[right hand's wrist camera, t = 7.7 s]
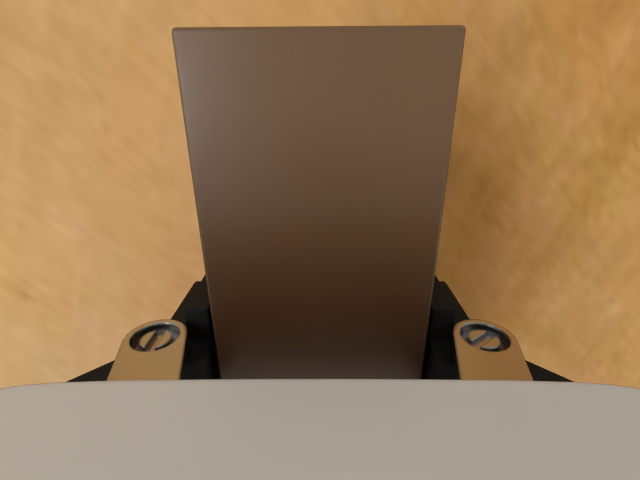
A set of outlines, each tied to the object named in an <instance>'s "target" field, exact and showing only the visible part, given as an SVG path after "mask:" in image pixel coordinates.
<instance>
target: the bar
mask: <svg viewBox="0 0 640 480" xmlns="http://www.w3.org/2000/svg"><path fill="white" fill-rule="evenodd" d="M172 38H173V45H174V52H175V59H176V66H177V73H178V80H179V87H180V95H181V102H182V109H183V116H184V123H185V130H186V137H187V144H188V152H189V159H190V166H191V173H192V180H193V187H194V194H195V201H196V209H197V216H198V223H199V230H200V237H201V244H202V251H203V258H204V266H205V273H206V280H207V287H208V294H209V301H210V308H211V315H212V323H213V330H214V337H215V344H216V351H217V358H218V365H219V372H220V379H418V380H422V372H423V364H424V356H425V348H426V340H427V332H428V324H429V316H430V308H431V300H432V292H433V284H434V276H435V268H436V261H437V253H438V245H439V237H440V229H441V221H442V213H443V205H444V197H445V189H446V181H447V173H448V165H449V157H450V149H451V142H452V134H453V126H454V118H455V110H456V102H457V94H458V86H459V78H460V70H461V62H462V54H463V46H464V38H465V27H464V26H462V25H440V26H309V27H178V28H173V29H172Z"/></svg>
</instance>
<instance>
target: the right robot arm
mask: <svg viewBox="0 0 640 480" xmlns="http://www.w3.org/2000/svg"><path fill="white" fill-rule="evenodd" d="M0 480H640V389H638V388H633V387H625V386H617V385H609V384H596V383H580V382H573V381H571V380H569V379H566V378H564V377H562V376H560V375H557V374H555V373H553V372H551V371H548V370H546V369H544V368H542V367H539V366H537V365H535V364H533V363H530V362H528V361H526V360H525V358H524V356H523V353H522V351H521V348H520V346H519V344H518V341H517V339H516V338H515V336H514V335H513V334H512V333H511V332H509V331H508V330H507V329H505V328H503V327H501V326H500V325H497V324H495V323H492V322H489V321H484V320H474V319H469V318H468V316H467V315H466V313H465V312H464V310H463V309H462V307H461V305H460V304H459V302H458V301H457V299H456V298H455V296H454V295H453V293H452V292H451V290H450V289H449V287H448V285H447V284H446V283H445V282H444V281H439V280H438V279H437V277H436V276H434V284H433V292H432V300H431V308H430V316H429V324H428V332H427V340H426V348H425V356H424V364H423V372H422V380H418V379H220V372H219V365H218V358H217V351H216V344H215V337H214V330H213V323H212V315H211V308H210V301H209V294H208V287H207V280H206V274H205V276H204V278H203V279H202V281H196V282H195V283H194V284H193V286H192V288H191V289H190V291H189V292H188V294H187V295H186V297H185V298H184V300H183V301H182V303H181V304H180V306H179V307H178V309H177V311H176V312H175V314H174V315H173V317H172V318H171V320H170V319H166V320H156V321H151V322H148V323H145V324H143V325H140V326H139V327H137V328H135V329H133V330H132V331H131V332H129V333H128V334H127V335H126V336H125V338H124V339H123V341H122V344H121V346H120V348H119V351H118V353H117V356H116V358H115V360H114V361H112V362H110V363H108V364H105V365H103V366H101V367H99V368H96V369H94V370H92V371H90V372H87V373H85V374H83V375H81V376H78V377H76V378H74V379H72V380H69V381H67V382H60V383H44V384H32V385H22V386H15V387H8V388H1V389H0Z"/></svg>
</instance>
